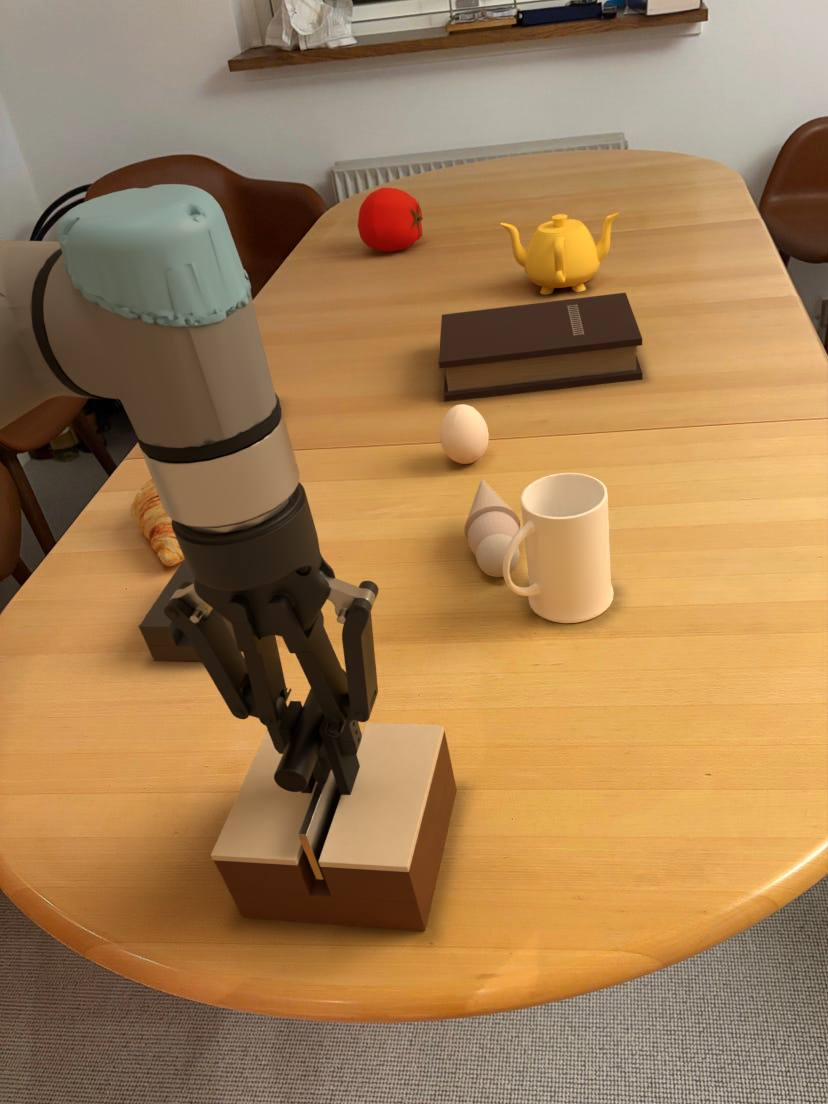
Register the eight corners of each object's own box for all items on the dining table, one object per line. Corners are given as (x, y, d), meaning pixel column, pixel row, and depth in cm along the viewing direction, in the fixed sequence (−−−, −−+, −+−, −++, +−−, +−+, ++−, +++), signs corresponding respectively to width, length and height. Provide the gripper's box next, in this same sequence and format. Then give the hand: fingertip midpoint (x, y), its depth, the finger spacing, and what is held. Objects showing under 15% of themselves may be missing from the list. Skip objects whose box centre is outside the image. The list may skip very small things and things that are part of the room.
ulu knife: (304, 878, 63) (264, 781, 57) (349, 751, 72) (319, 654, 66) (334, 880, 63) (297, 782, 56) (376, 752, 72) (347, 654, 65)
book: (624, 326, 142) (624, 288, 139) (642, 379, 127) (642, 338, 124) (447, 347, 144) (442, 310, 141) (444, 401, 130) (438, 362, 126)
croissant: (209, 593, 106) (223, 537, 101) (117, 576, 102) (127, 517, 98) (216, 498, 122) (228, 446, 117) (137, 481, 118) (146, 427, 114)
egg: (501, 456, 115) (495, 401, 111) (469, 478, 112) (461, 421, 107) (466, 445, 119) (459, 390, 114) (434, 465, 116) (425, 410, 111)
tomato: (364, 267, 190) (423, 268, 186) (340, 225, 178) (402, 225, 174) (378, 216, 193) (436, 216, 189) (355, 170, 181) (417, 169, 177)
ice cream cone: (489, 506, 106) (508, 598, 97) (444, 487, 103) (460, 580, 94) (519, 469, 103) (542, 560, 93) (474, 448, 100) (493, 540, 90)
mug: (530, 649, 86) (519, 544, 79) (485, 605, 92) (470, 504, 85) (631, 601, 90) (629, 496, 82) (581, 561, 96) (575, 461, 88)
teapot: (502, 307, 155) (495, 236, 147) (509, 276, 166) (503, 209, 159) (621, 297, 152) (620, 225, 144) (620, 267, 163) (619, 198, 155)
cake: (241, 917, 67) (210, 855, 62) (295, 782, 77) (271, 719, 72) (425, 931, 65) (407, 867, 60) (457, 789, 74) (443, 724, 69)
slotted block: (154, 660, 92) (138, 626, 89) (202, 583, 102) (189, 549, 99) (227, 662, 90) (213, 627, 88) (270, 582, 100) (258, 549, 97)
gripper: (384, 459, 52) (443, 744, 67) (139, 467, 55) (250, 738, 70) (349, 534, 46) (423, 826, 61) (79, 538, 49) (213, 816, 64)
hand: (331, 779), depth 65 cm, fingers closed on ulu knife, 2 cm apart
